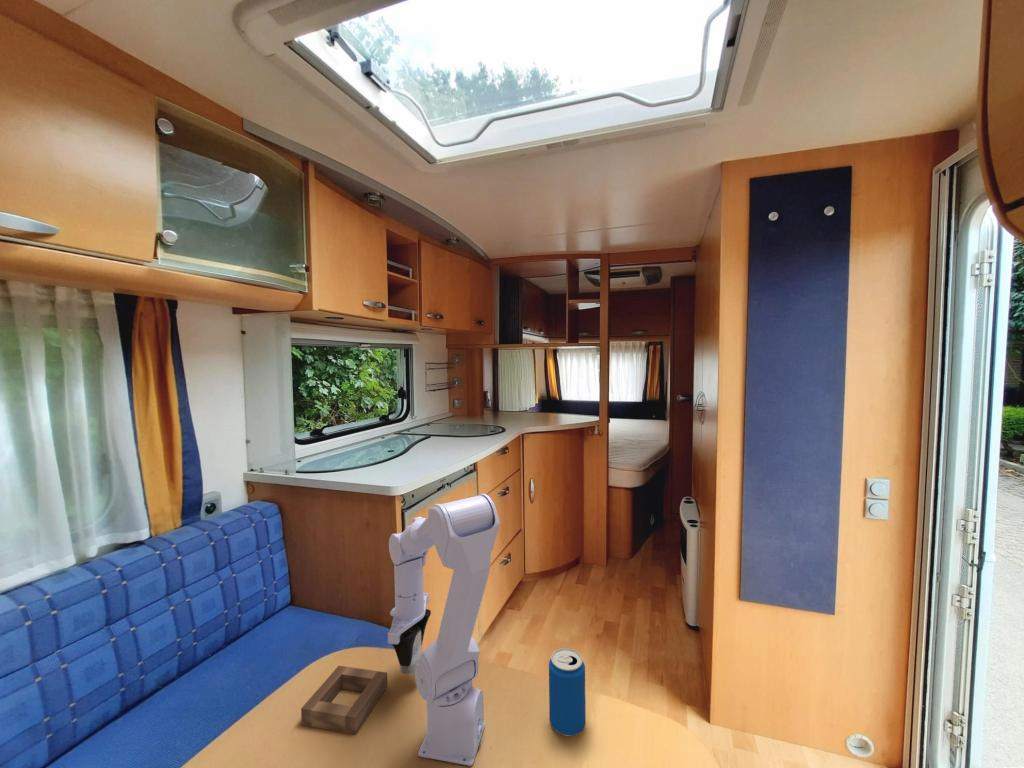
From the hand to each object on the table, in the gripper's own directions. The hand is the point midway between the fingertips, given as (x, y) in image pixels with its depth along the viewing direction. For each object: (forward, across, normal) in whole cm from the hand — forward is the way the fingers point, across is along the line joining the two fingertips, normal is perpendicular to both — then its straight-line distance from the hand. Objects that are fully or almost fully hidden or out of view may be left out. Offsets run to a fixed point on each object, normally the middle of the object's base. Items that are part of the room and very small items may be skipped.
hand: (410, 656), depth 82 cm
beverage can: (+6, +3, +32) cm, 33 cm away
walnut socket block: (+6, +7, -10) cm, 14 cm away
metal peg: (+2, 0, 0) cm, 2 cm away
